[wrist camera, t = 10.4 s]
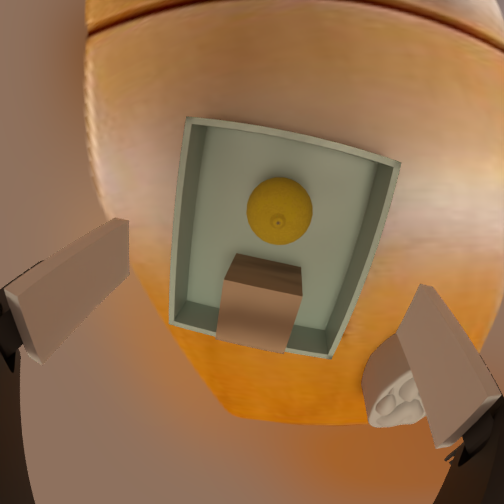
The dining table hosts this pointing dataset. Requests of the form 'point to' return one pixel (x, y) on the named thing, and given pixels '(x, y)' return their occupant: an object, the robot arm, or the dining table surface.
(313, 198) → the box
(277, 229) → the lemon
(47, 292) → the robot arm
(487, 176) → the dining table surface
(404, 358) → the lumpy-topped squat cylinder
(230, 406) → the dining table surface
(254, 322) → the walnut block
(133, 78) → the dining table surface
